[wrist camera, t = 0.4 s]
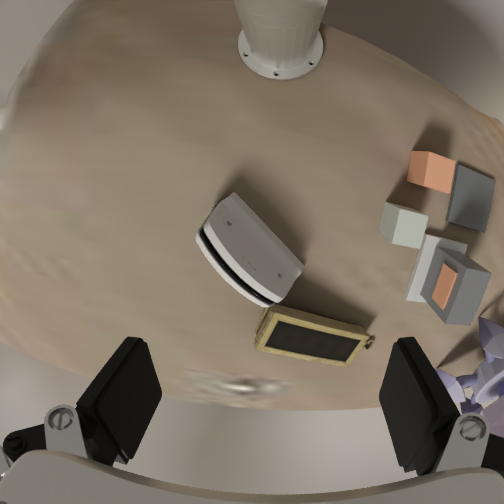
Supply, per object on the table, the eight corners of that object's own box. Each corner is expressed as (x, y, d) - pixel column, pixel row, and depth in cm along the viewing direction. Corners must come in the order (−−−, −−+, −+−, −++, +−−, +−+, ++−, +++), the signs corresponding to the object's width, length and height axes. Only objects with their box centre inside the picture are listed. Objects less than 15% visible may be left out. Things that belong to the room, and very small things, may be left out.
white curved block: (306, 267, 45) (291, 310, 37) (284, 280, 48) (267, 322, 40) (232, 189, 42) (200, 217, 34) (214, 207, 45) (181, 238, 37)
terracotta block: (411, 151, 37) (429, 151, 31) (436, 159, 37) (455, 161, 31) (406, 181, 39) (423, 185, 33) (431, 188, 39) (449, 194, 33)
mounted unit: (423, 232, 41) (458, 255, 30) (464, 242, 41) (500, 265, 30) (403, 296, 45) (428, 331, 34) (444, 301, 45) (472, 333, 34)
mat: (456, 164, 36) (459, 164, 36) (492, 180, 36) (495, 180, 35) (445, 220, 40) (447, 221, 39) (482, 231, 39) (484, 232, 39)
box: (267, 294, 46) (271, 312, 41) (375, 321, 50) (386, 337, 45) (250, 332, 48) (252, 351, 44) (354, 352, 53) (362, 369, 48)
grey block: (385, 201, 40) (400, 208, 35) (411, 208, 40) (428, 216, 34) (378, 232, 42) (391, 243, 36) (404, 237, 42) (419, 249, 36)
